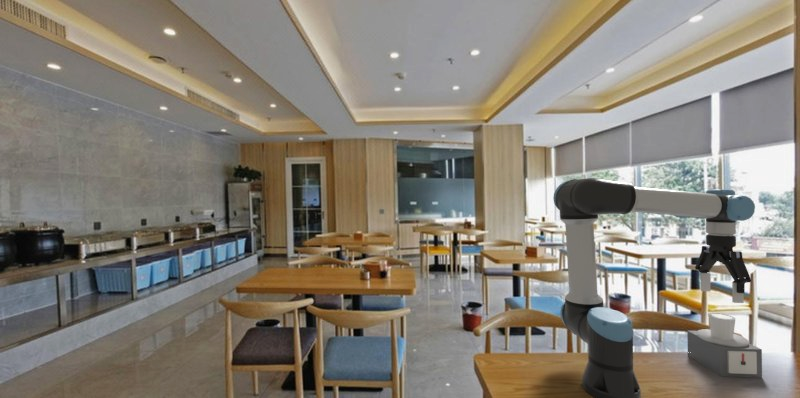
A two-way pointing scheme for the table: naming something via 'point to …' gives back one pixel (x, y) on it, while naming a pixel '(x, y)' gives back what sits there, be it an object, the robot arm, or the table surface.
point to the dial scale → (725, 354)
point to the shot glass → (722, 326)
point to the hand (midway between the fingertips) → (720, 296)
